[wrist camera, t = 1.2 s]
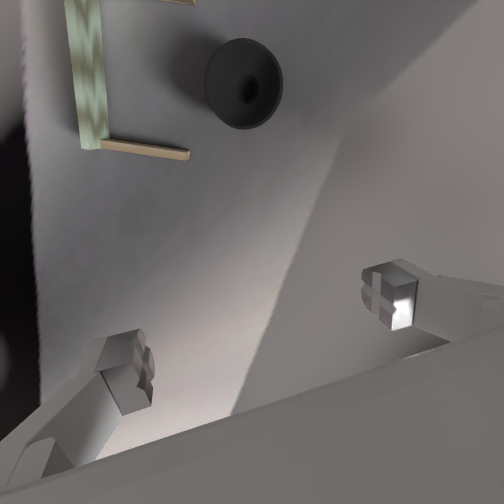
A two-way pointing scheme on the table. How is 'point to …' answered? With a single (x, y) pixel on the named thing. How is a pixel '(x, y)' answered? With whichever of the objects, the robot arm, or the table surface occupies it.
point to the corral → (99, 82)
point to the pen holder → (243, 83)
